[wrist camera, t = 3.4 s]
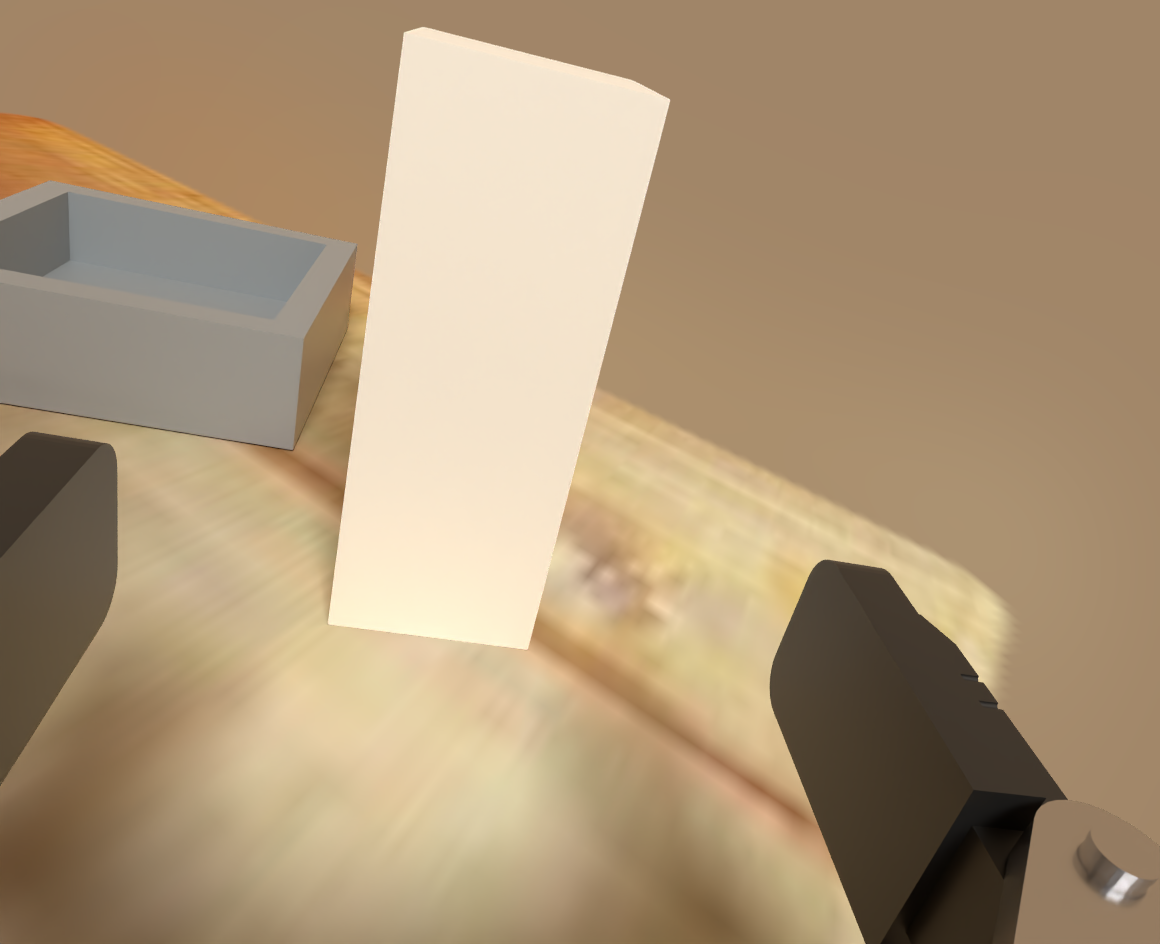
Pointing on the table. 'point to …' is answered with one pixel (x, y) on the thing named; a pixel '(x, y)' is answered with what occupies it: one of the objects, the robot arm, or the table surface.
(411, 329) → the cream block
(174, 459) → the table surface
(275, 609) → the table surface
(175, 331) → the tray
